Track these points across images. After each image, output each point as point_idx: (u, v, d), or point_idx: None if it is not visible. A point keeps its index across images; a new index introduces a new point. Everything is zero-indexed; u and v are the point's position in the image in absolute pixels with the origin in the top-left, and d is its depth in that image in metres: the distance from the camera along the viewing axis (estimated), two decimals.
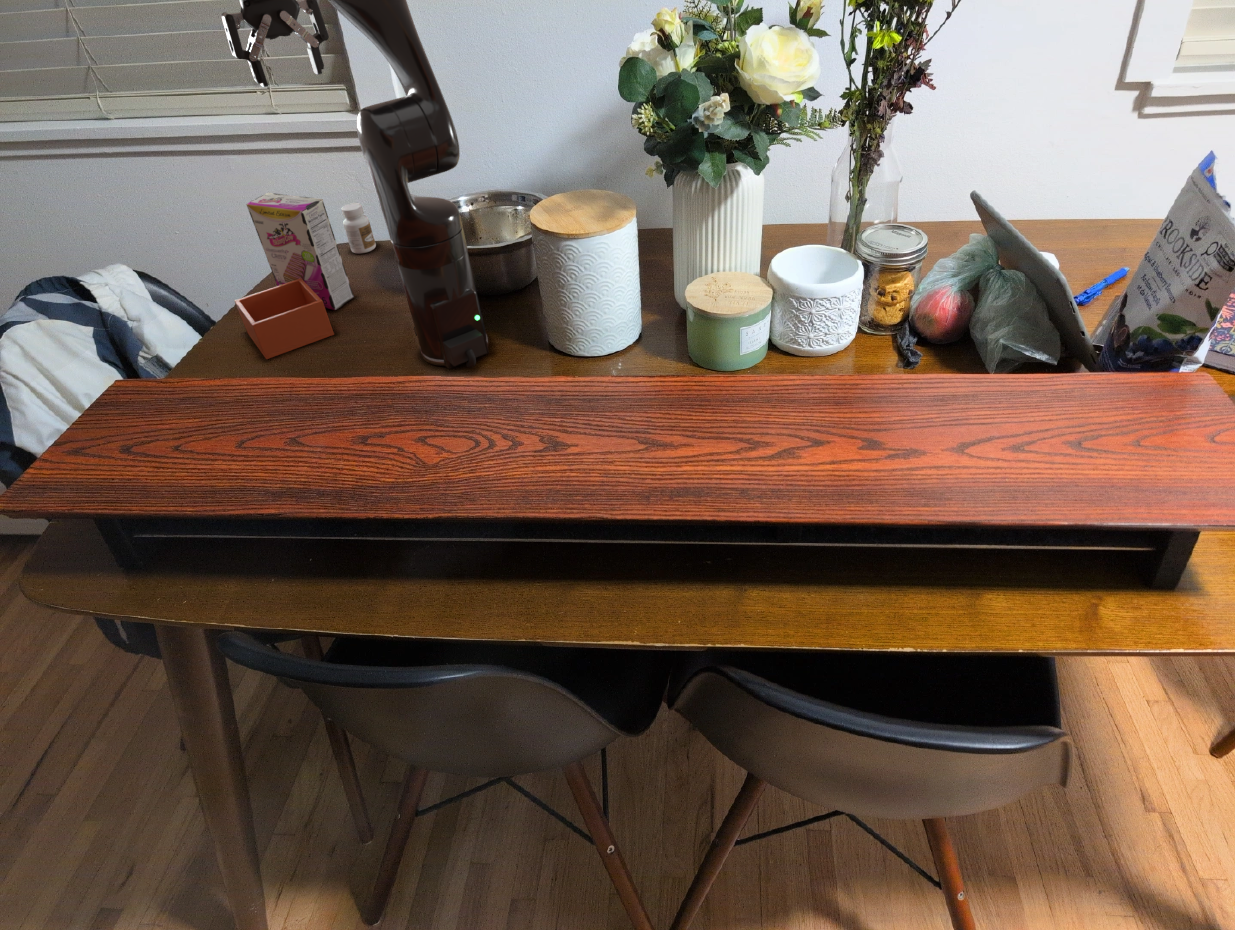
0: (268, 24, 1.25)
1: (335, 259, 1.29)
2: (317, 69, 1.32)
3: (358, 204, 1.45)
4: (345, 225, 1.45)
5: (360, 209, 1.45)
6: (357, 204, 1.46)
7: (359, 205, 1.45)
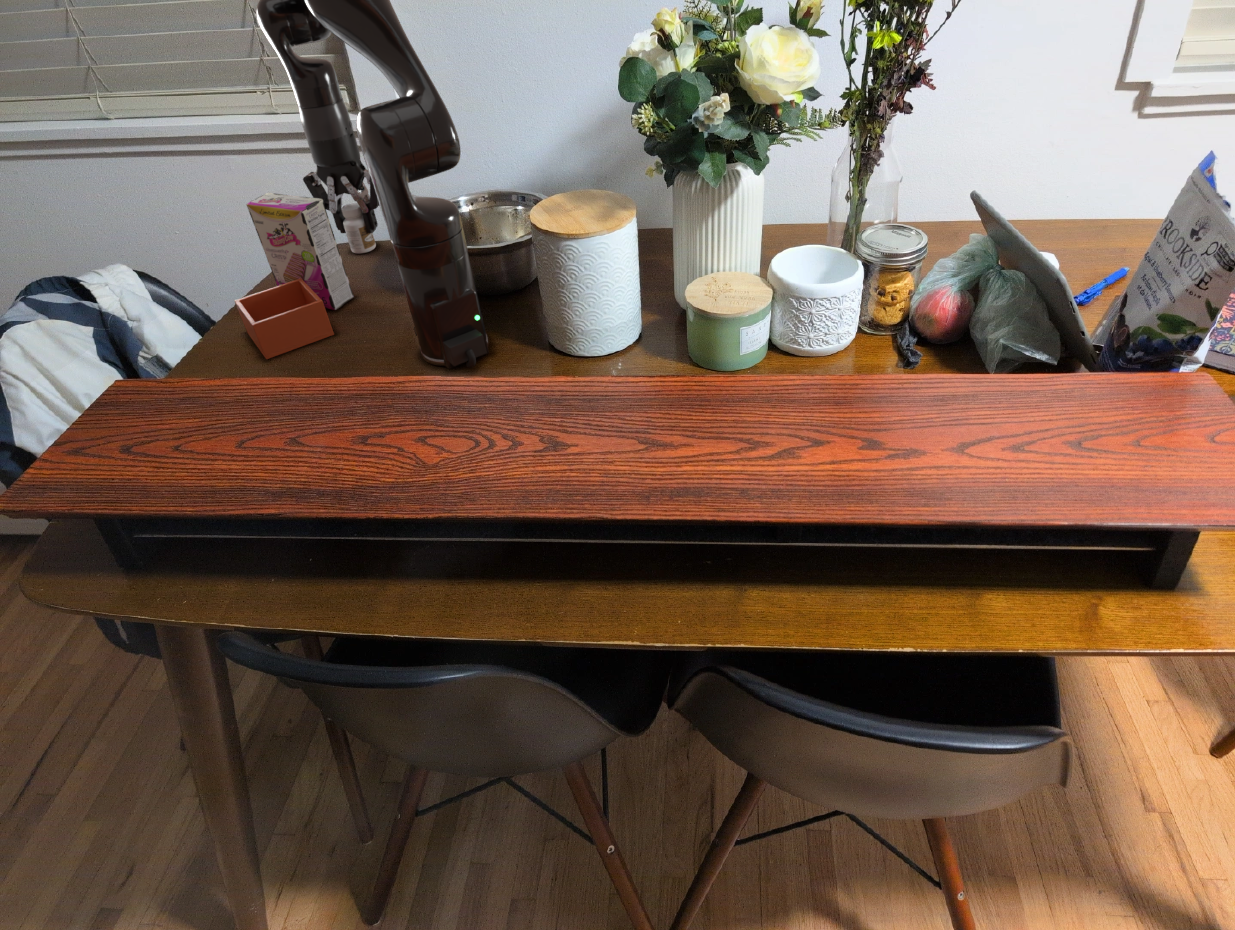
0: (331, 184, 1.41)
1: (335, 259, 1.29)
2: (367, 229, 1.46)
3: None
4: (345, 225, 1.45)
5: (360, 209, 1.45)
6: (357, 204, 1.46)
7: None
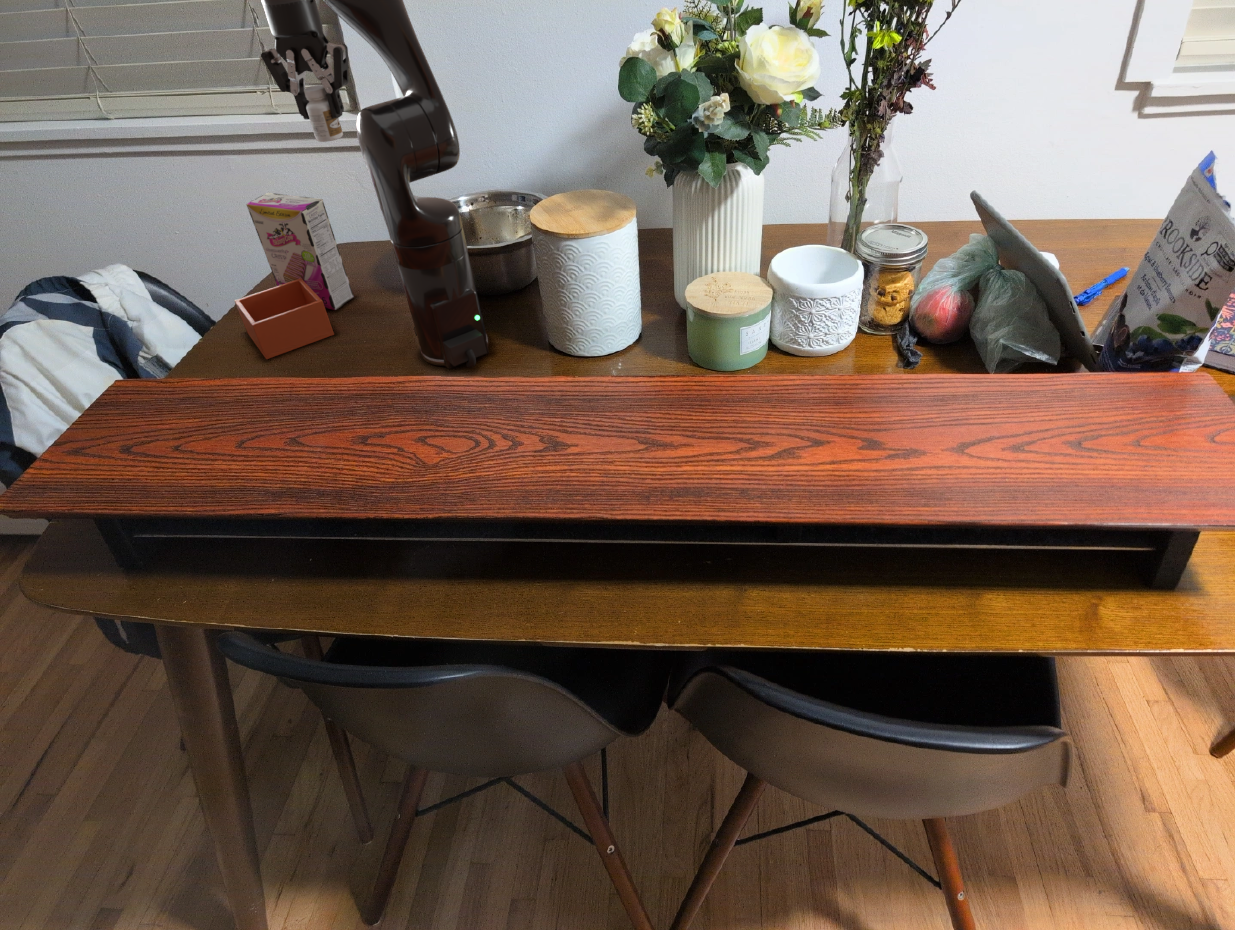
0: (291, 59, 1.29)
1: (335, 259, 1.29)
2: (332, 113, 1.34)
3: (322, 85, 1.33)
4: (308, 108, 1.33)
5: (324, 90, 1.32)
6: (321, 86, 1.33)
7: None
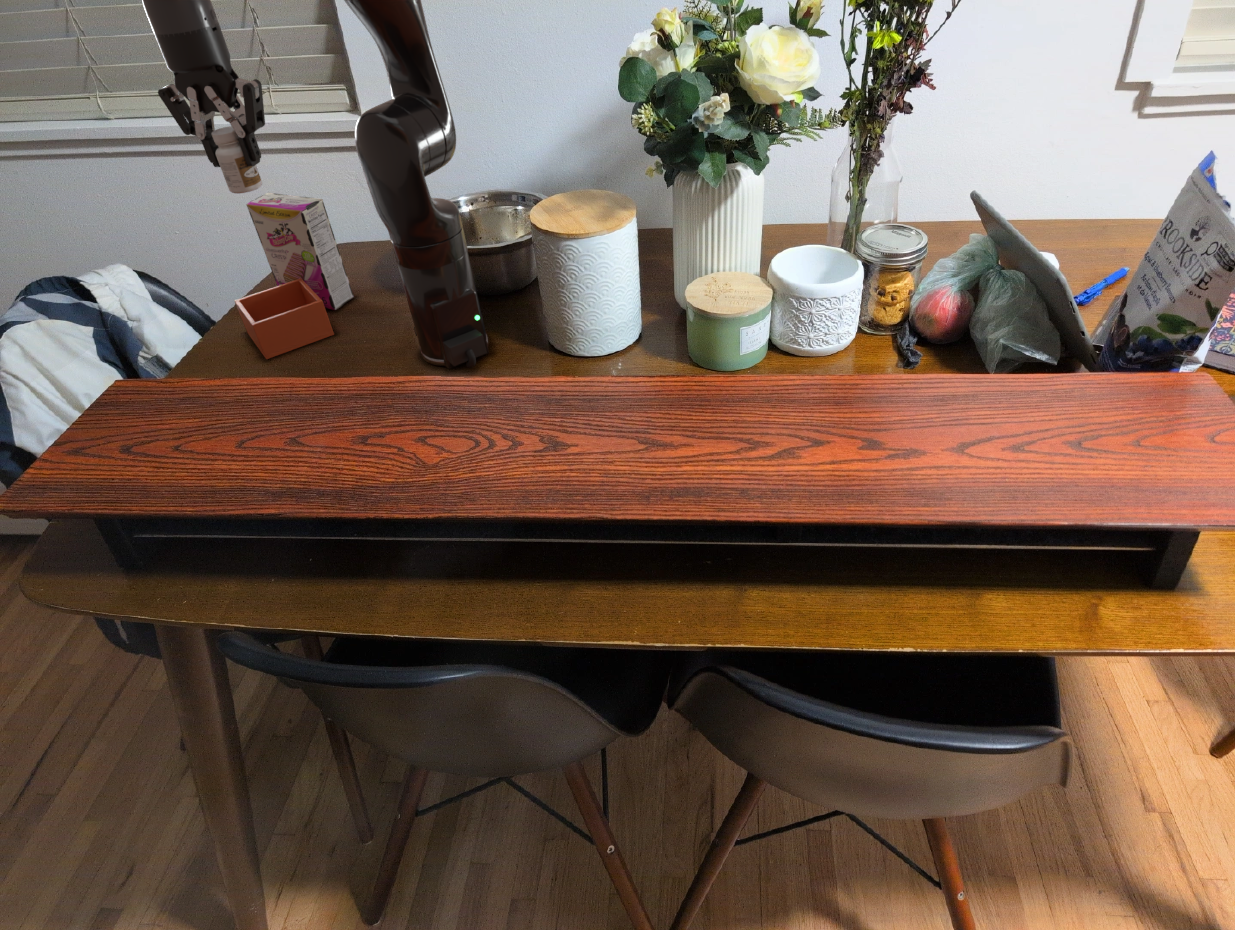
0: (193, 98, 1.07)
1: (335, 259, 1.29)
2: (246, 161, 1.12)
3: None
4: (217, 155, 1.11)
5: None
6: None
7: None
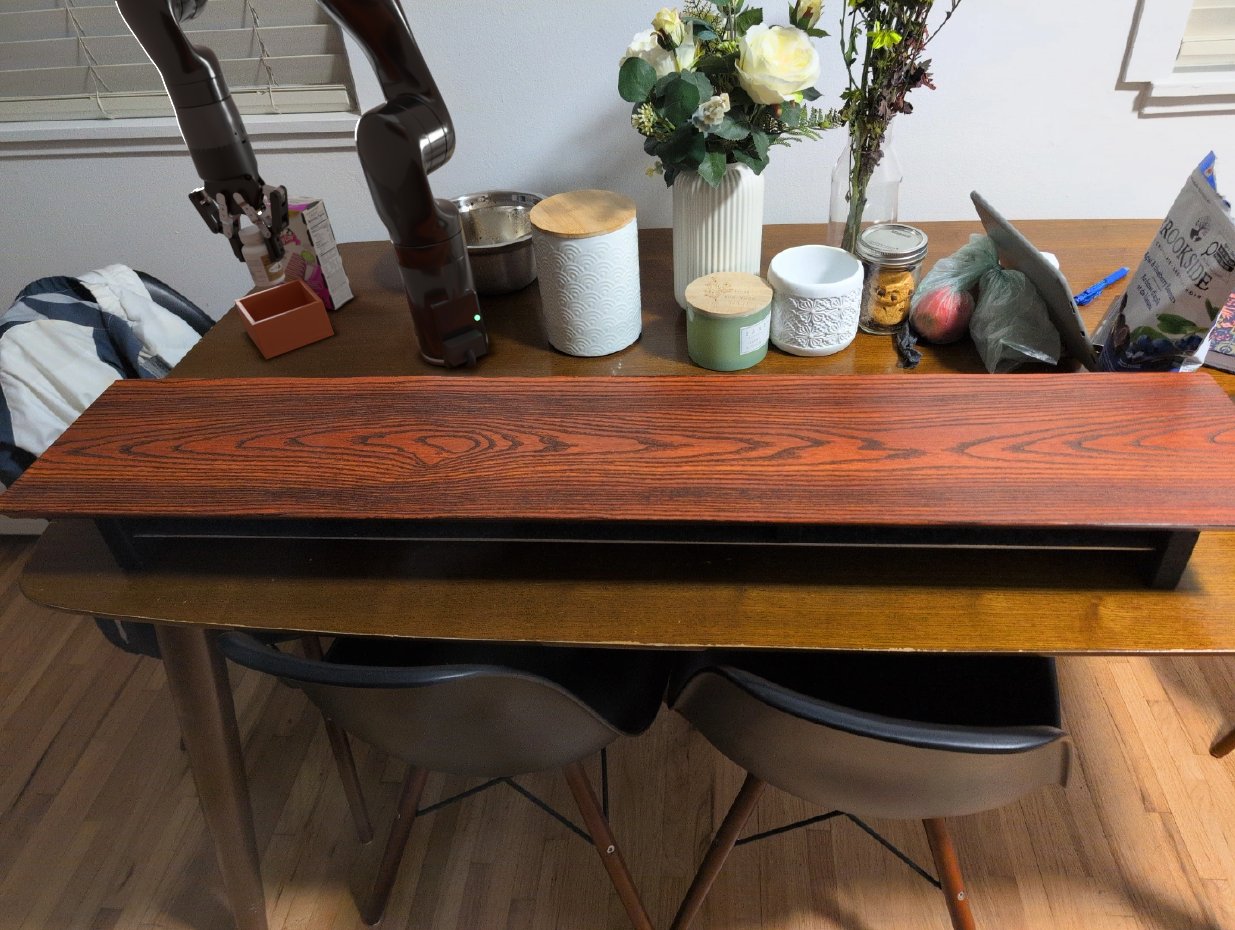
0: (222, 202, 1.13)
1: (335, 259, 1.29)
2: (271, 258, 1.18)
3: None
4: (243, 253, 1.17)
5: None
6: None
7: None
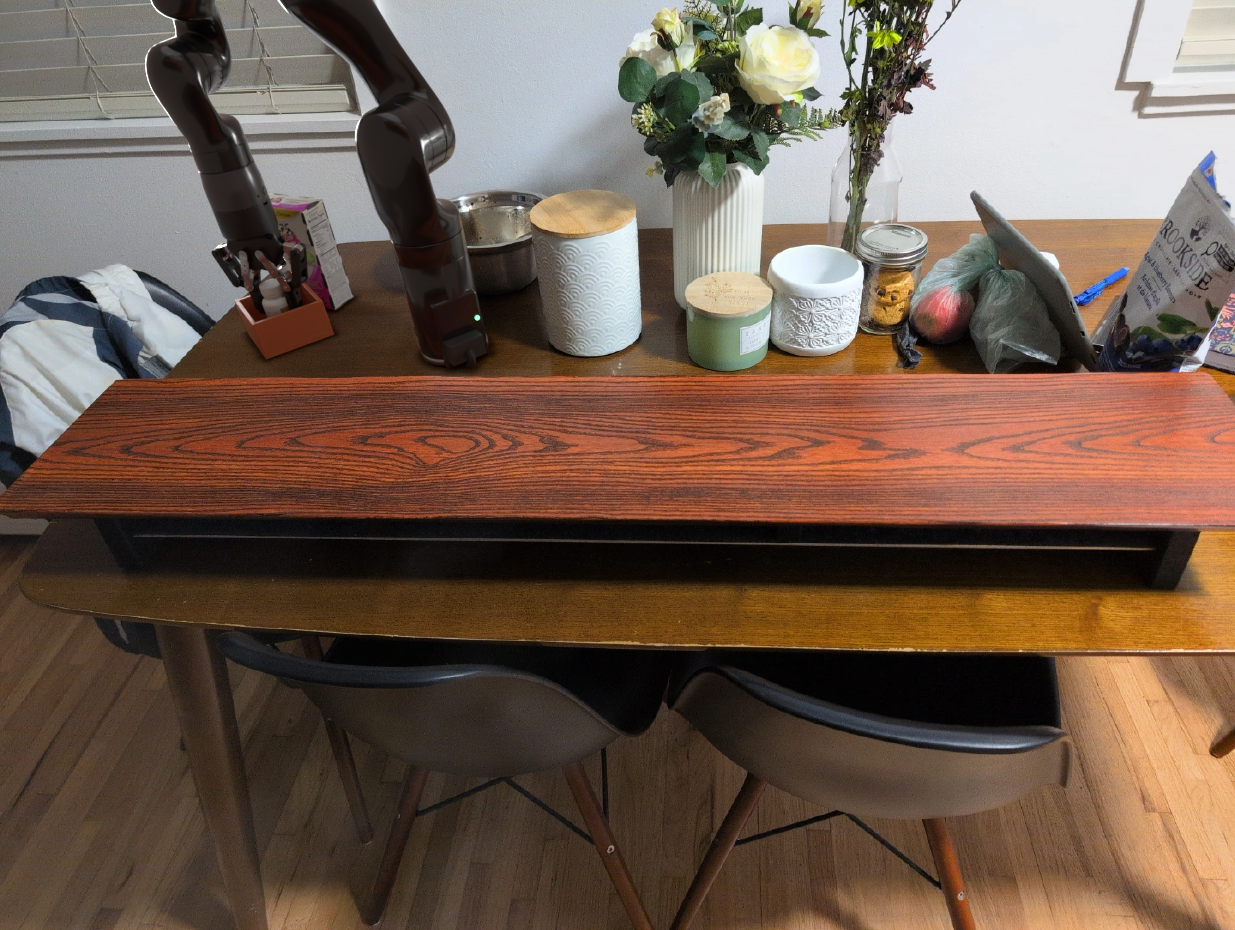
0: (244, 259, 1.18)
1: (335, 259, 1.29)
2: None
3: None
4: (264, 305, 1.22)
5: None
6: None
7: None
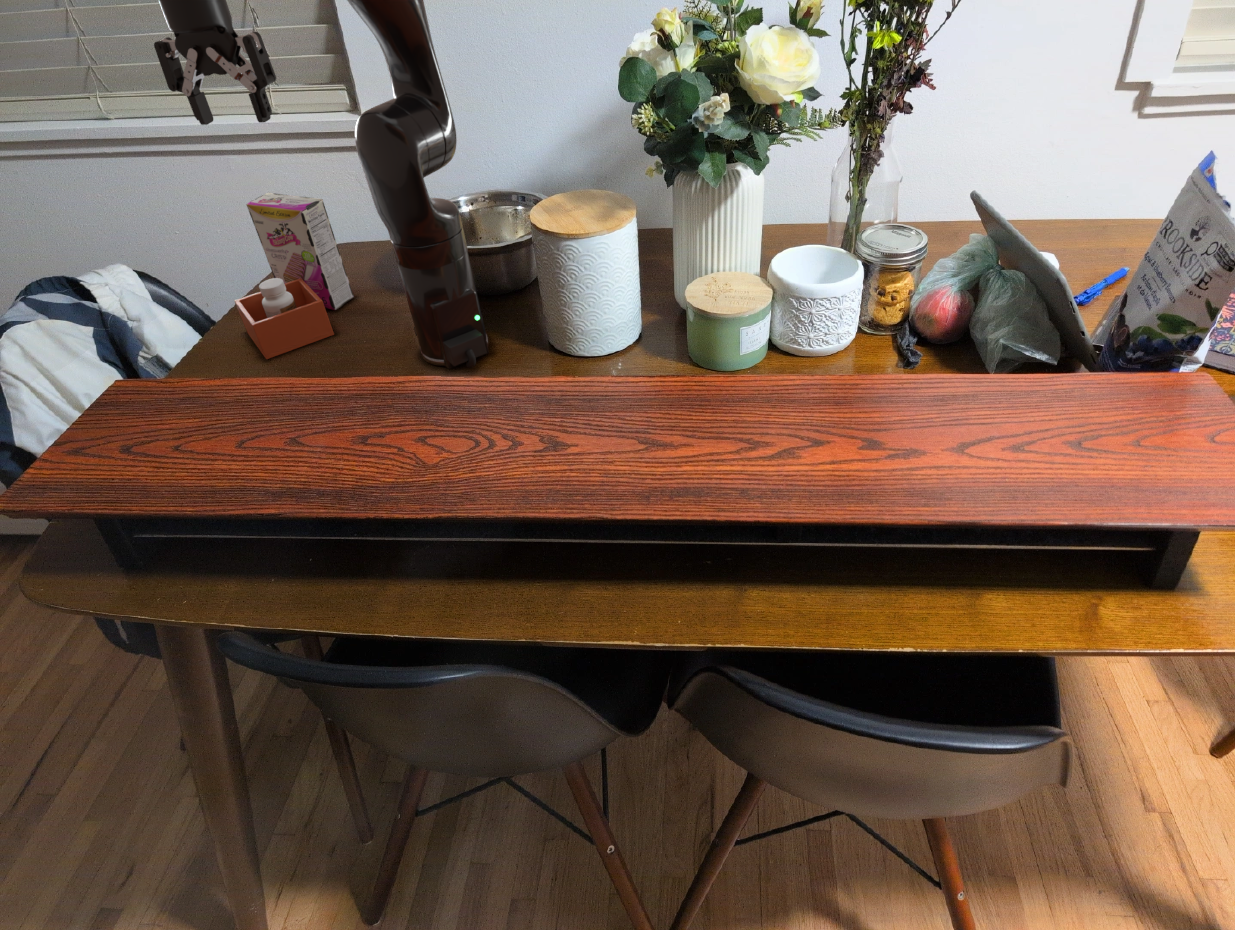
0: (194, 59, 1.07)
1: (335, 259, 1.29)
2: (257, 117, 1.11)
3: (279, 280, 1.22)
4: (264, 305, 1.22)
5: (281, 286, 1.22)
6: (278, 280, 1.22)
7: (280, 281, 1.22)
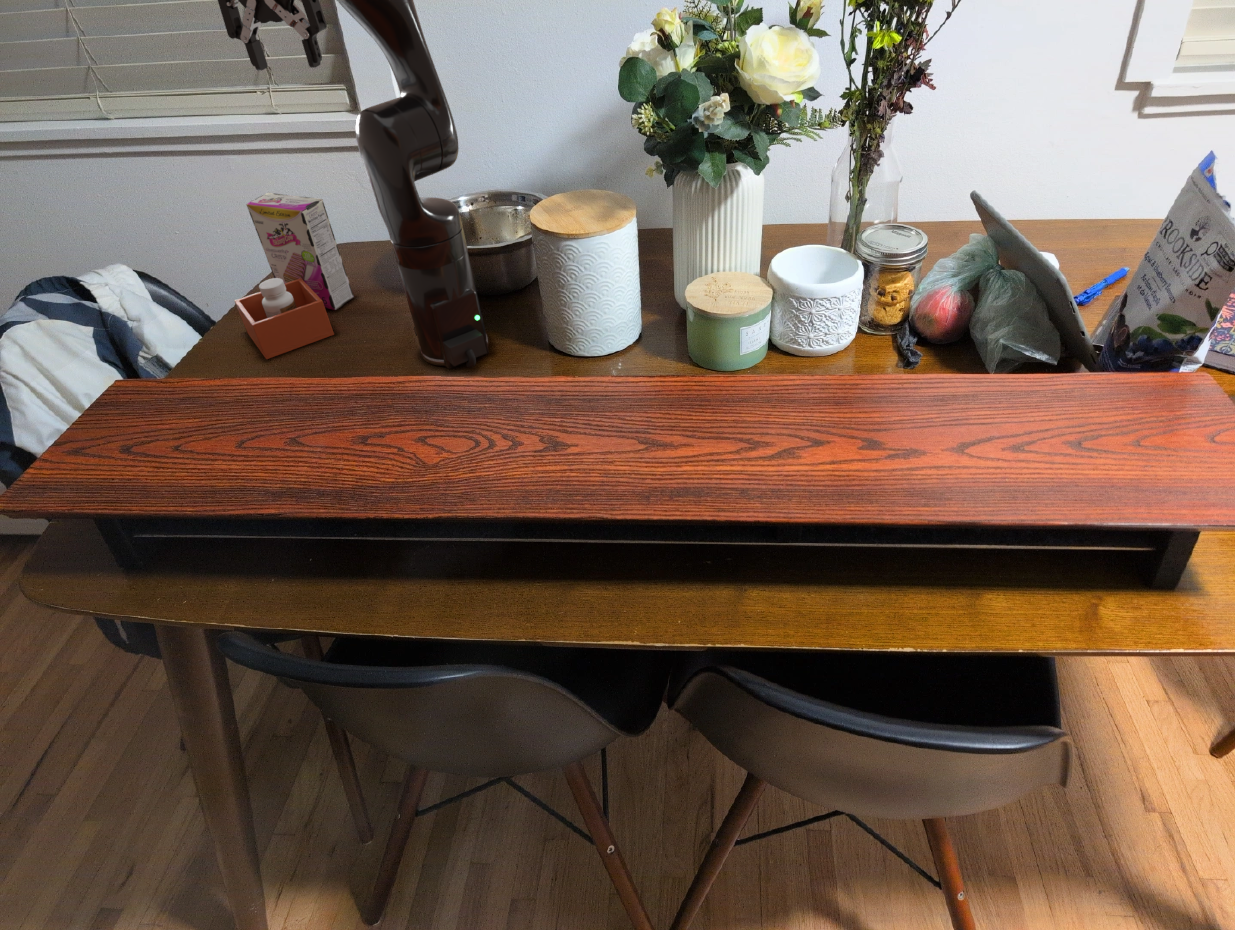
0: (253, 7, 1.16)
1: (335, 259, 1.29)
2: (309, 62, 1.20)
3: (279, 280, 1.22)
4: (264, 305, 1.22)
5: (281, 286, 1.22)
6: (278, 280, 1.22)
7: (280, 281, 1.22)
